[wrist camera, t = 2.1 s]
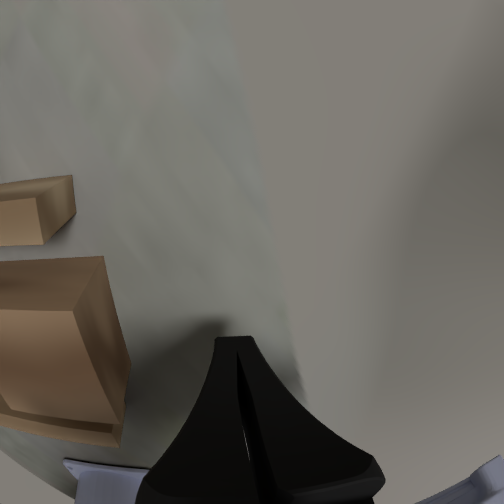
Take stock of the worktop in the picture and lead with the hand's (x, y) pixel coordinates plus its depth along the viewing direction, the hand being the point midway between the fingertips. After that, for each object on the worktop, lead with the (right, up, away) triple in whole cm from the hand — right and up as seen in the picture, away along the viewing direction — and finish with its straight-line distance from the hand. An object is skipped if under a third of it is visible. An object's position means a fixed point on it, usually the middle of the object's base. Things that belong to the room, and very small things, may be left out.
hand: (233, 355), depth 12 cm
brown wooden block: (-8, +1, +1) cm, 8 cm away
